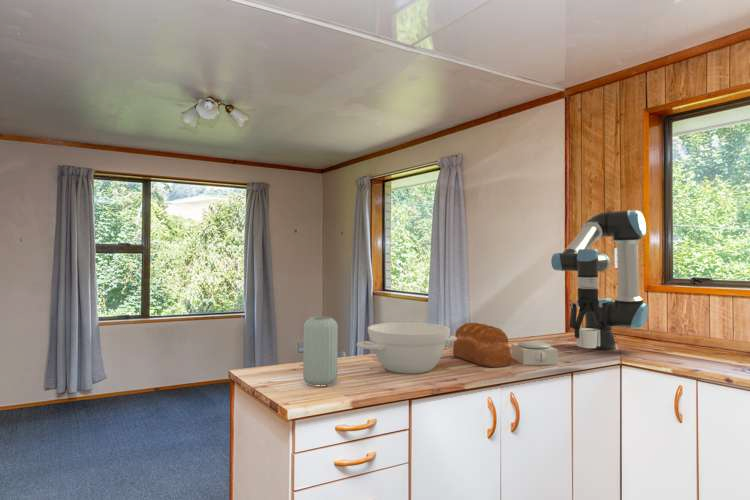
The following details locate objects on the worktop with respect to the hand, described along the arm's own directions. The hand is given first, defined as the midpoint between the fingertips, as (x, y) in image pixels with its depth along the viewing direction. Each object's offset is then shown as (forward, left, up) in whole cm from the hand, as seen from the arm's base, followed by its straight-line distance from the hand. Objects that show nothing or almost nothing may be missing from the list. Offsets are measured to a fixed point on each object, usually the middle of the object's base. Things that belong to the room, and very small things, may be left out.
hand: (588, 345), depth 195 cm
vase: (+20, -105, -9) cm, 107 cm away
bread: (-14, -39, -9) cm, 42 cm away
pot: (-1, -72, -9) cm, 72 cm away
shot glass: (0, 0, -1) cm, 1 cm away
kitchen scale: (-12, -18, -8) cm, 22 cm away
